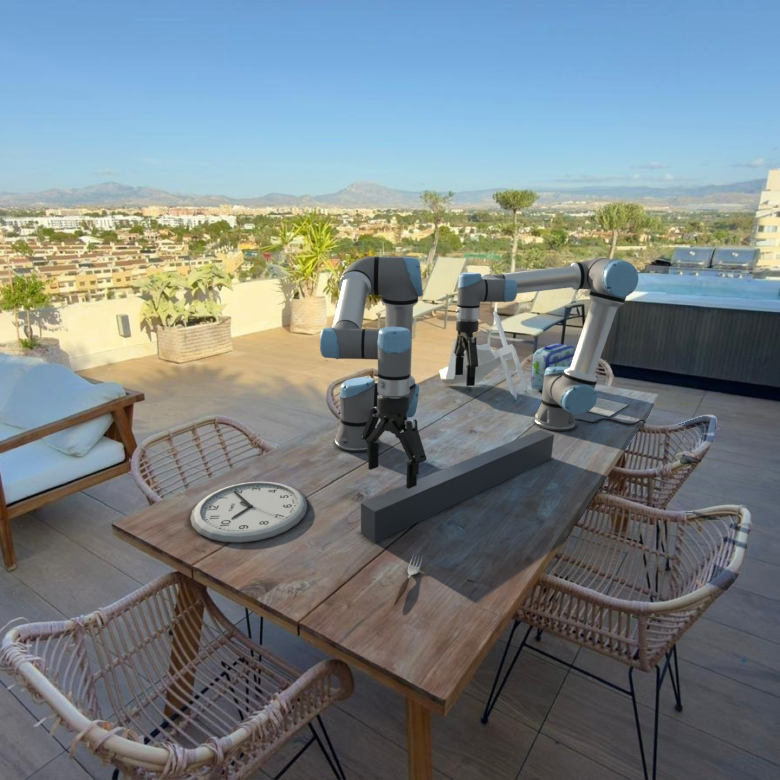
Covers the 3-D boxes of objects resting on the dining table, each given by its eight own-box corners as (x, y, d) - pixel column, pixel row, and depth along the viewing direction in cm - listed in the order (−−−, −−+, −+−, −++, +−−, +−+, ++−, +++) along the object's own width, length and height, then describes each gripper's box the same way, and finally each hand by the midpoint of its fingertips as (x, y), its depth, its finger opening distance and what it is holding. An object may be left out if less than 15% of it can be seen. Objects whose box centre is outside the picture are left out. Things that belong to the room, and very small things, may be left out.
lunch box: (547, 395, 239) (552, 351, 233) (526, 390, 247) (530, 347, 240) (574, 384, 257) (579, 343, 251) (554, 380, 264) (558, 339, 258)
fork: (388, 605, 105) (388, 597, 104) (412, 560, 119) (412, 553, 119) (400, 609, 104) (400, 600, 104) (423, 563, 119) (423, 555, 118)
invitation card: (608, 416, 214) (573, 407, 224) (608, 416, 214) (573, 408, 224) (628, 404, 229) (594, 396, 238) (628, 405, 229) (594, 397, 238)
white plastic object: (461, 429, 252) (437, 405, 227) (444, 352, 274) (420, 323, 250) (535, 404, 240) (518, 377, 215) (510, 326, 262) (492, 293, 237)
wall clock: (302, 534, 126) (174, 538, 123) (303, 540, 126) (175, 544, 124) (310, 477, 154) (206, 479, 152) (310, 482, 155) (206, 484, 152)
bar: (537, 453, 178) (540, 429, 176) (551, 458, 175) (554, 434, 172) (360, 533, 130) (360, 502, 127) (374, 543, 126) (374, 511, 124)
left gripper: (347, 385, 128) (347, 464, 134) (421, 410, 111) (417, 500, 117) (370, 380, 133) (369, 457, 139) (444, 403, 116) (440, 490, 122)
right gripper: (447, 313, 188) (444, 370, 194) (468, 326, 164) (464, 391, 170) (467, 313, 189) (464, 370, 195) (490, 326, 165) (486, 390, 172)
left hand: (391, 477), depth 128 cm, fingers open, 13 cm apart
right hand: (464, 380), depth 183 cm, fingers open, 13 cm apart
